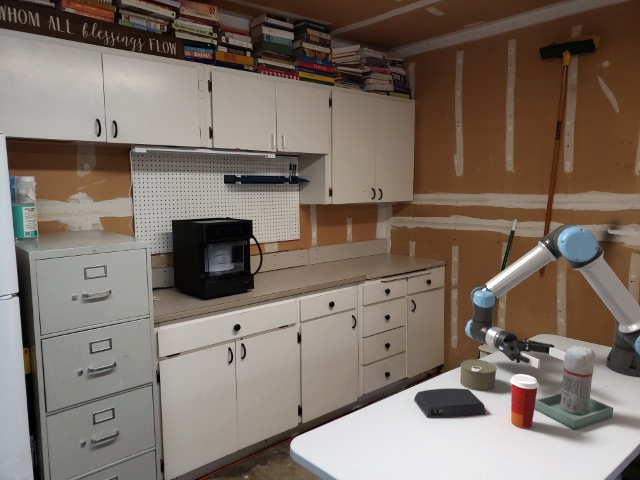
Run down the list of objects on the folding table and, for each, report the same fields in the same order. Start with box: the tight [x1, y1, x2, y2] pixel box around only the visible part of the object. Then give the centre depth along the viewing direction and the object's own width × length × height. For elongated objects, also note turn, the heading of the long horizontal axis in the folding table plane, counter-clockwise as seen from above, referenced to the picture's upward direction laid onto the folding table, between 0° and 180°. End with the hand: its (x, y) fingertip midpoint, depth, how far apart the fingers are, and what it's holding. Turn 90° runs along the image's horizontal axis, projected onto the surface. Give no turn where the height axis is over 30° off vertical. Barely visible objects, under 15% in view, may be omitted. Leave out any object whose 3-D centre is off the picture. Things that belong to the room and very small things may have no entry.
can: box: [459, 358, 497, 392], centre depth 166 cm, size 12×12×7 cm
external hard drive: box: [413, 387, 487, 419], centre depth 149 cm, size 13×19×4 cm
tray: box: [534, 391, 614, 431], centre depth 146 cm, size 18×14×3 cm
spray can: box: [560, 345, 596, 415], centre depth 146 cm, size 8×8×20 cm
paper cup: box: [509, 373, 540, 430], centre depth 139 cm, size 8×8×14 cm
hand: (553, 360), depth 153 cm, fingers open, 13 cm apart
